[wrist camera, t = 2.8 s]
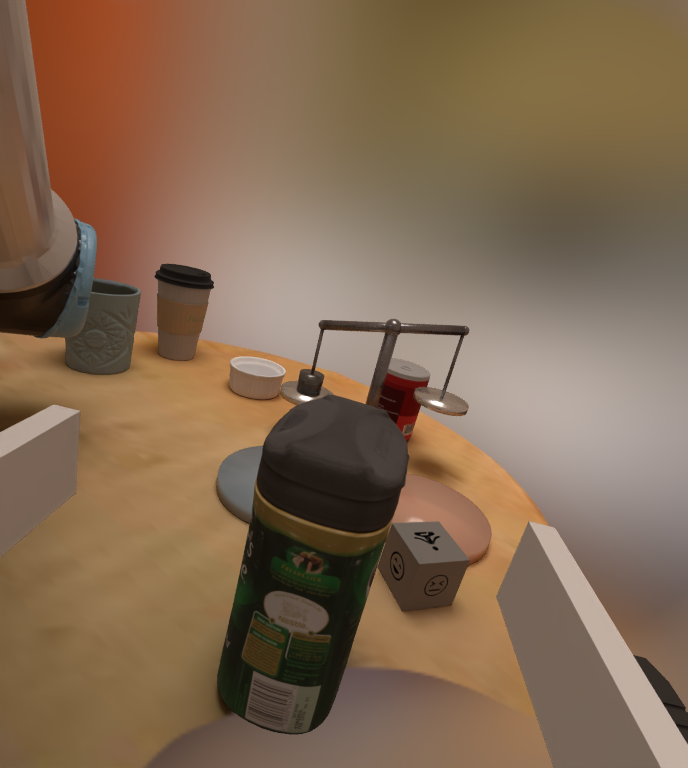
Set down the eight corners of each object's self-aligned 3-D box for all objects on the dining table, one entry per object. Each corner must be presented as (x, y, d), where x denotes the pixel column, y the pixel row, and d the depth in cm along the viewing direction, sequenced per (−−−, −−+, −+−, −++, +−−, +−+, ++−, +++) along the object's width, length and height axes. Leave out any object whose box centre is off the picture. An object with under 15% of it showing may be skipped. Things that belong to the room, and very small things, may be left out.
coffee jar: (254, 593, 36) (303, 373, 30) (351, 627, 35) (421, 408, 29) (191, 712, 26) (244, 429, 20) (321, 763, 26) (415, 483, 20)
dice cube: (423, 564, 44) (438, 521, 42) (451, 605, 40) (470, 560, 38) (377, 567, 42) (392, 523, 40) (401, 612, 38) (419, 564, 36)
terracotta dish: (361, 546, 44) (365, 533, 43) (364, 473, 57) (367, 463, 57) (501, 581, 44) (507, 568, 44) (472, 500, 57) (476, 490, 57)
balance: (266, 439, 59) (298, 288, 53) (278, 418, 66) (307, 281, 60) (448, 485, 60) (501, 339, 53) (440, 459, 66) (487, 327, 60)
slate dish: (195, 512, 43) (197, 499, 42) (238, 446, 56) (240, 435, 56) (340, 548, 43) (344, 535, 42) (348, 473, 56) (351, 463, 56)
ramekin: (223, 377, 76) (227, 353, 75) (274, 382, 80) (279, 359, 78) (229, 399, 68) (234, 373, 67) (286, 404, 72) (291, 379, 71)
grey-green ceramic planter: (90, 381, 63) (95, 296, 59) (42, 358, 66) (43, 275, 62) (149, 368, 72) (156, 293, 68) (103, 348, 75) (108, 276, 71)
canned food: (407, 428, 74) (427, 365, 71) (412, 450, 67) (434, 381, 63) (361, 417, 74) (379, 353, 71) (361, 438, 67) (381, 368, 63)
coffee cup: (200, 368, 77) (213, 280, 72) (141, 358, 75) (150, 267, 70) (205, 351, 86) (217, 271, 81) (152, 342, 84) (161, 260, 79)
